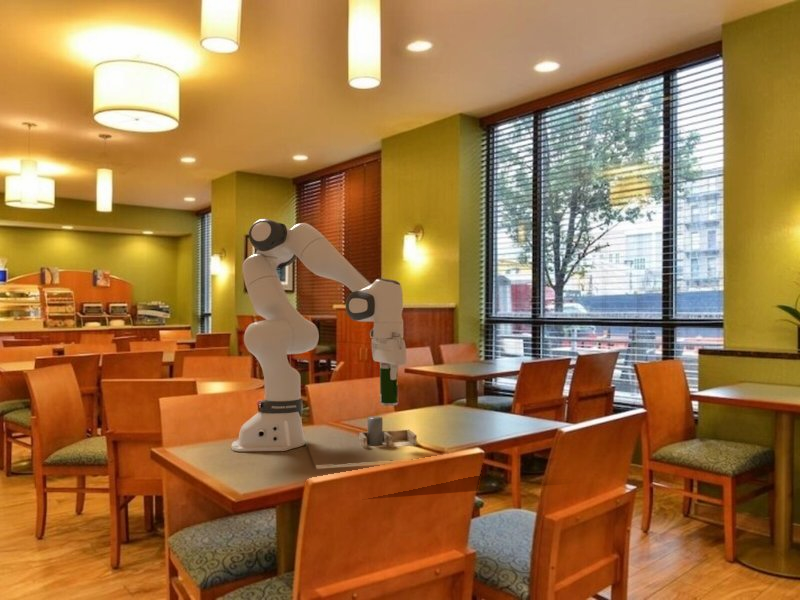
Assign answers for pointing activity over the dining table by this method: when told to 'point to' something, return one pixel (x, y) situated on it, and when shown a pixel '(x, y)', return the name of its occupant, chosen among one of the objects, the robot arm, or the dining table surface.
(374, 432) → the grey upright block
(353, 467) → the dining table surface
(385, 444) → the comb rack
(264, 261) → the robot arm
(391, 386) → the beer can
